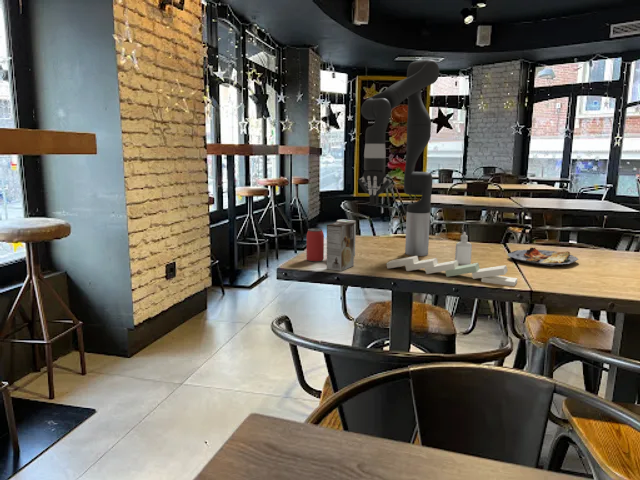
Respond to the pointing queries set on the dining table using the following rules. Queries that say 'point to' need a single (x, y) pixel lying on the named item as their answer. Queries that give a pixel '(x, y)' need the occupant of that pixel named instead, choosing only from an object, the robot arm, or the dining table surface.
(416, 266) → the domino
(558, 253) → the food plate
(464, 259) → the eye dropper bottle
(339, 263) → the coffee box
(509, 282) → the domino
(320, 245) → the beer can
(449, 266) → the domino
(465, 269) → the sage domino
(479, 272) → the domino
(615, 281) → the dining table surface
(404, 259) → the domino
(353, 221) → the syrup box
